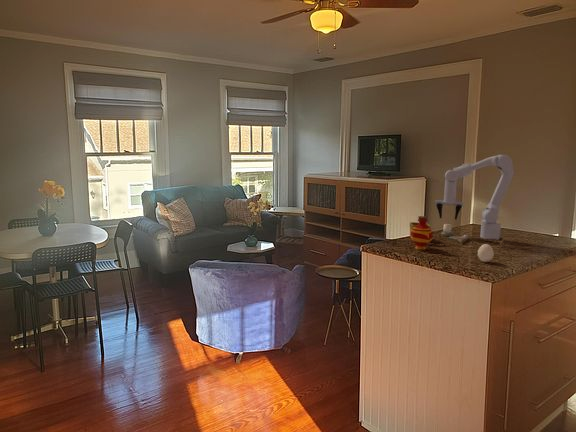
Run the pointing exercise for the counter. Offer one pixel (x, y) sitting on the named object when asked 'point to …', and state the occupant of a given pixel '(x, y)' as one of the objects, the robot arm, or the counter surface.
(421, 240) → the red and yellow vase
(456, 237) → the board
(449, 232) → the beige mushroom
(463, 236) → the rod with orange cap
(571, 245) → the counter surface
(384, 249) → the counter surface
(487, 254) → the egg
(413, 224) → the flower pot
